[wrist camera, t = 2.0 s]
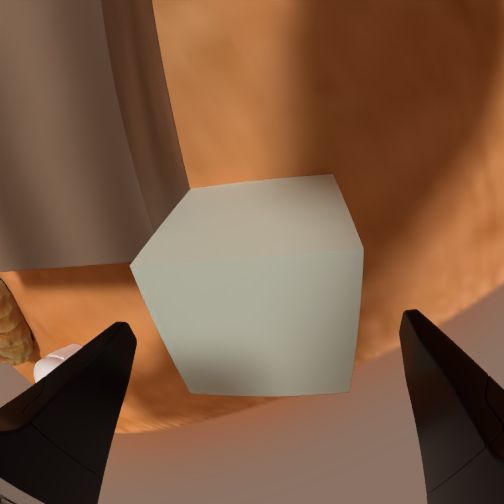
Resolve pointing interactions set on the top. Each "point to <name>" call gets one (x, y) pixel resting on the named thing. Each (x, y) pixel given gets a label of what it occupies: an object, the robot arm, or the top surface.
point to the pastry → (13, 331)
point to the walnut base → (83, 133)
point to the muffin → (54, 360)
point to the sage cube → (257, 287)
